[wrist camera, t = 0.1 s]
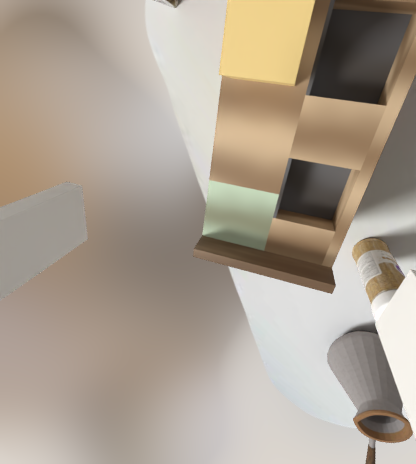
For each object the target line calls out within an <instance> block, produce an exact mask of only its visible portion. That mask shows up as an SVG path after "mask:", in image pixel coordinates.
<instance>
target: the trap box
mask: <svg viewBox="0 0 416 464" xmlns="http://www.w3.org/2000/svg"><path fill="white" fill-rule="evenodd" d="M415 75H416V0H315V4H314V8H313V12H312V16H311V21H310V25H309V29H308V33H307V37H306V41H305V45H304V49H303V53H302V57H301V62H300V66H299V70H298V74H297V78H296V82H295V86H288V85H280V84H272V83H264V82H256V81H248V80H241V79H233V78H230V77H226V76H222V81H221V89H220V97H219V105H218V113H217V121H216V130H215V138H214V146H213V154H212V162H211V170H210V178H209V186H208V195H207V203H206V211H205V219H204V228H203V235H202V237H201V239H200V240H199V242H198V243H197V245H196V246H195V248H194V252H193V257H196V258H200V259H204V260H208V261H211V262H215V263H219V264H223V265H227V266H230V267H234V268H237V269H241V270H245V271H249V272H252V273H256V274H260V275H264V276H267V277H271V278H275V279H279V280H282V281H286V282H290V283H294V284H297V285H301V286H305V287H308V288H312V289H316V290H320V291H323V292H327V293H331V294H332V293H333V291H334V288H335V286H336V285H335V280H334V276H333V271H332V266H333V264H334V261H335V259H336V257H337V254H338V252H339V250H340V248H341V245H342V243H343V241H344V238H345V236H346V234H347V231H348V229H349V227H350V224H351V222H352V220H353V218H354V215H355V213H356V211H357V208H358V206H359V204H360V201H361V199H362V197H363V195H364V192H365V190H366V188H367V185H368V183H369V181H370V178H371V176H372V174H373V171H374V169H375V167H376V165H377V162H378V160H379V158H380V155H381V153H382V151H383V148H384V146H385V144H386V142H387V139H388V137H389V135H390V132H391V130H392V128H393V125H394V123H395V121H396V118H397V116H398V114H399V112H400V109H401V107H402V105H403V102H404V100H405V98H406V95H407V93H408V91H409V88H410V86H411V84H412V82H413V79H414V77H415Z"/></svg>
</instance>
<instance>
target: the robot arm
mask: <svg viewBox="0 0 416 464" xmlns="http://www.w3.org/2000/svg"><path fill="white" fill-rule="evenodd" d="M87 239H88V237H87V228H86V219H85V210H84V200H83V191H82V186H81V185H77V184H74V183H70V182H65V183H62V184H60V185H57V186H55V187H52V188H49V189H47V190H44V191H42V192H39V193H36V194H34V195H31V196H29V197H26V198H23V199H21V200H18V201H16V202H13V203H10V204H8V205H5V206H2V207H0V300H2V299H3V298H5V297H6V296H7V295H9V294H10V293H12V292H13V291H15V290H16V289H17V288H19V287H20V286H22V285H23V284H24V283H26V282H27V281H29V280H30V279H32V278H33V277H34V276H36V275H37V274H39V273H40V272H42V271H43V270H44V269H46V268H47V267H49V266H50V265H51V264H53V263H55V262H56V261H57V260H59V259H60V258H62V257H63V256H64V255H66V254H67V253H69V252H70V251H72V250H73V249H75V248H76V247H77V246H79V245H80V244H81V243H83V242H84V241H86V240H87ZM375 326H376V329H377V332H378V334H379V337H380V340H381V343H382V346H383V349H384V351H385V354H386V357H387V360H388V363H389V365H390V368H391V371H392V374H393V377H394V380H395V382H396V385H397V388H398V391H399V394H400V397H401V399H402V402H403V405H404V408H405V411H406V414H407V416H408V419H409V422H410V425H411V428H412V431H413V433H414V436H415V439H416V271H415V270H410V271H409V273H408V274H407V276H406V277H405V279H404V280H403V282H402V283H401V285H400V287H399V288H398V290H397V291H396V293H395V294H394V296H393V297H392V299H391V300H390V302H389V303H388V305H387V306H386V308H385V309H384V311H383V313H382V314H381V316H380V317H379V319H378V320H377V322H376V323H375Z"/></svg>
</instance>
